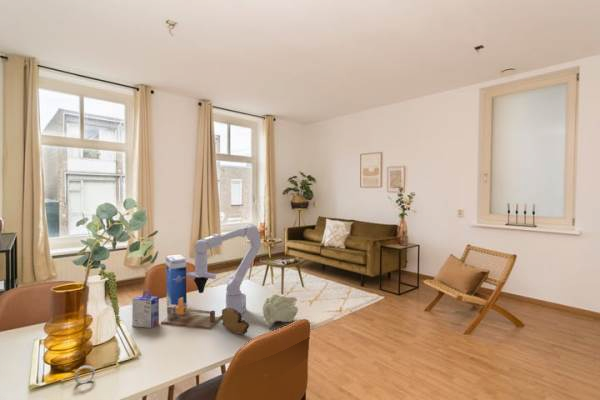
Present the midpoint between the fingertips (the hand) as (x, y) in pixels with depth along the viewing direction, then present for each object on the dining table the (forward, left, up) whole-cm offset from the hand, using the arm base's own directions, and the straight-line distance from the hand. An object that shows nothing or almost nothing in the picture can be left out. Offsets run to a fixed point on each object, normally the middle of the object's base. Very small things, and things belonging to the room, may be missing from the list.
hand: (201, 292), depth 147 cm
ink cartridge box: (+18, +16, -11) cm, 26 cm away
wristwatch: (+9, +55, -11) cm, 57 cm away
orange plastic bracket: (+5, +9, -7) cm, 13 cm away
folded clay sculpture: (-39, +1, -11) cm, 41 cm away
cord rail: (0, +9, -10) cm, 14 cm away
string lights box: (+17, -5, -11) cm, 20 cm away
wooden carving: (-23, +14, -11) cm, 29 cm away
